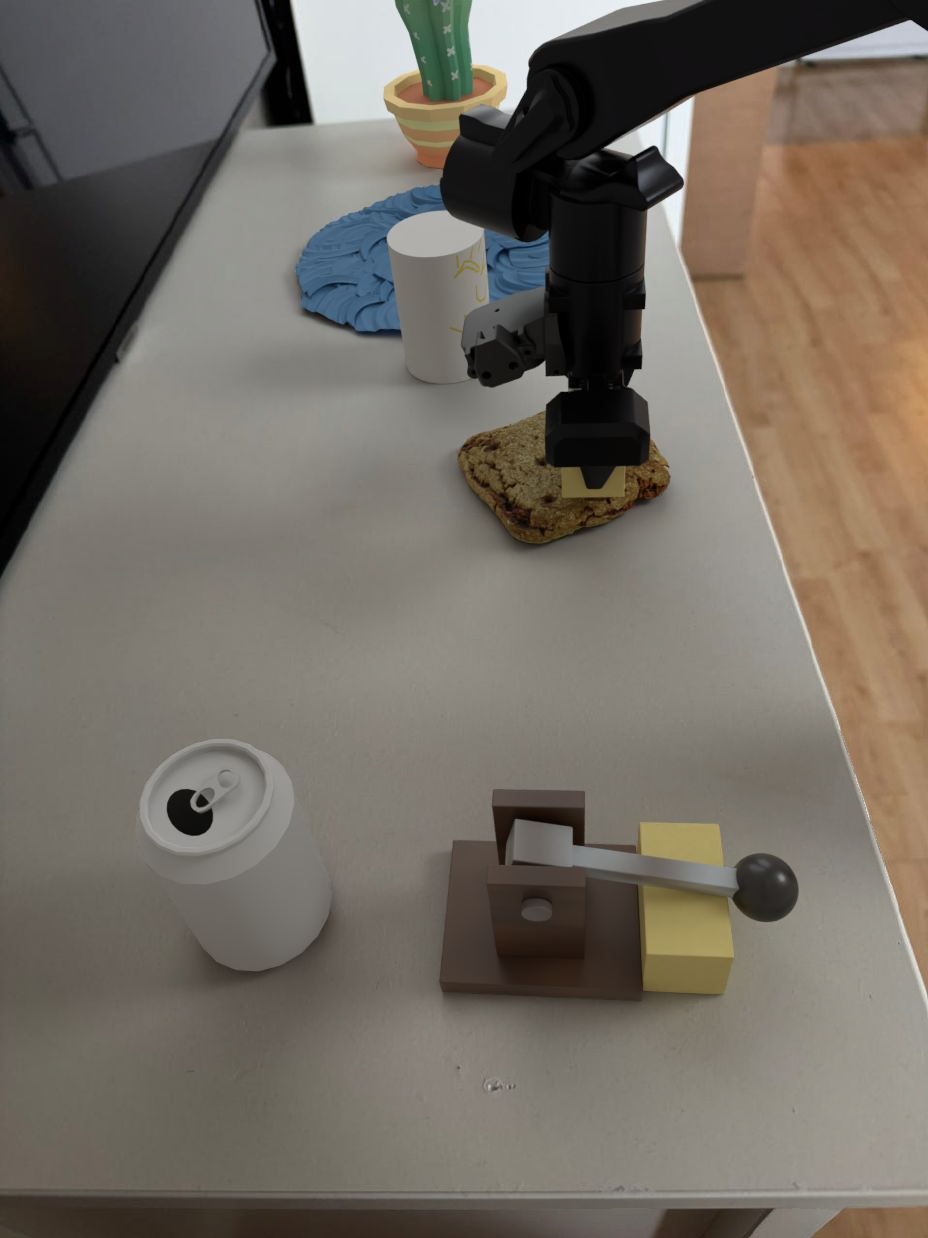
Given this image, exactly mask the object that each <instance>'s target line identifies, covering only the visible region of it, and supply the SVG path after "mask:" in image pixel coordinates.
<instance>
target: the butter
mask: <svg viewBox="0 0 928 1238" xmlns="http://www.w3.org/2000/svg"><path fill="white" fill-rule="evenodd" d="M636 854H639V855H646V856H653V857H660V858H667V859H674V860H681V861H688V862H695V863H702V864H709V865H716V866H723V867H725V864H724V855H723V846H722V836H721V829H720V825H719V824H718V823H691V822H688V823H687V822H684V823H683V822H647V821H645V822H643V821H640V822H639V824H638V834H637V846H636ZM638 896H639V917H640V939H641V960H642V981H643V992H655V993H656V992H657V993H679V994H680V993H682V994H698V995H699V994H701V995H702V994H703V995H720V996H721V995H724V994H725V991H726V987H727V983H728V980H729V977H730V975H731V974H730V973H731V970H732V967H733V963H734V960H735V950H734V943H733V935H732V934H733V932H732V925H731V917H730V916H731V915H730V906H729V900H728V899H729V897H722V896H715V895H708V894H701V893H694V892H687V891H680V890H673V889H666V888H659V887H652V886H645V885H638Z"/></svg>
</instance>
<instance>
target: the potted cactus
mask: <svg viewBox="0 0 928 1238" xmlns="http://www.w3.org/2000/svg"><path fill="white" fill-rule="evenodd" d="M394 4H395V8H396V11H397V13H398V14H399V16H400V18H401V20H402V22H403V24H404V26H405V28H406V31H407V33H408V34H409V35H408V36H409V39H410V42H411V47H412V50H413V54H414V57H415V60H416V64H417V68H418V69H416V70H413V71H410V72H406V73H403V74H400V75H398V76H397V77H395V78H394V79H392V80H391V81H390V82H389V83H387V84H385V85H384V86H383V96H382V99H383V102H384V105H385V107H386V110H387V112H389V113H391V114H392V115H393V116H394V117H395V121H396V122H397V124H398V127H399V128H400V131H401V133H402V136H404V138H405V139H406V140H407V141H408V143H409V144H411V146H412V147H413V148H414V149H415V150H416V162H418V163H420V164H421V165H423V166H425V167H426V168H432V169H433V168H434V169H442V170H443V168H444V164H445V160H446V157H447V154H448V152H449V150H450V148H451V146H452V144H453V143H454V141H455V140H456V138H457V137H458V136H459V135H460V128H459V115H460V114H461V113H464V112H466V111H468V110H470V109H472V108H474V107H476V106H478V105H480V104H484V105H488V106H492V107H495V108H497V109H498V110H500V105H501V102H503V101H504V100H505V99H506V97H507V92H508V86H509V85H508V80H507V75H506V73H505V72H503V71H501V70H499V69H497V68H494V67H492V66H490V65H485V64H474V63H473V59H472V50H471V41H470V39H471V38H470V31H469V22H470V17H471V11H472V6H473V5H472V4H473V0H394Z"/></svg>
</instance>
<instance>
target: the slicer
mask: <svg viewBox="0 0 928 1238" xmlns="http://www.w3.org/2000/svg"><path fill="white" fill-rule="evenodd" d="M491 798H492V799H491V811H492V818H493V819H492V820H493V827H494V835H495V840H470V839H469V840H467V839H466V840H465V839H453V841H452V848H451V856H450V857H451V858H450V868H449V878H448V889H447V898H446V909H445V918H444V928H443V929H444V931H443V940H442V941H443V942H442V949H441V960H440V971H439V980H438V982H439V986H440V990H441V992H442V993H463V994H484V995H502V996H503V995H505V996H523V997H524V996H529V997H549V998H568V999H569V998H570V999H592V1000H610V1001H611V1000H612V1001H613V1000H614V1001H634V1002H640V1001H641V1002H642V1001H643V995H644V991H643V981H642V960H641V939H640V917H639V896H638V884H631V883H624V882H617V881H609V880H602V879H595V878H588V877H586V869H585V867H555V866H522V865H505V858H506V843H507V840H508V837H509V834H510V832H511V829H512V826H513V823H514V820H515V819H521V820H528V821H535V822H541V823H548V824H555V825H562V826H569V827H572V828H573V845H577V846H584V847H591V848H598V849H604V850H611V851H618V852H625V853H632V854H637V846H636V844H615V843H614V844H612V843H611V844H609V843H585V841H586V791H584V790H559V789H557V790H555V789H551V790H550V789H516V788H515V789H513V788H508V789H507V788H493V789H492V797H491Z"/></svg>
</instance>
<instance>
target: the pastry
mask: <svg viewBox="0 0 928 1238" xmlns="http://www.w3.org/2000/svg"><path fill="white" fill-rule="evenodd" d="M545 416H546V409H545V410H543V411H540V412H537V413H536V414H533V415H532V416H528V417H526V418H525V419H521V420H519V421H517V422H514V423H513V424H511V423H509V424H508V425H505V426H501V427H498V428H494V429H491V430H487V431H483V432H480V433H477V434H475V435H472V436H471V437H468V438H467V439H466V441H465V442H464V443H463V444H462V446H461V447H460V448H459V450H458V451H457V464H458V466H459V468H460V470H461V471H462V472H463V474H464V478H465V479H466V482H467V484H468V485H469V487H470V488H471V489H472V490H473V491H474V493H475V494H476V495H477V496H478V498H479V499H481V501H483V502H484V503H485V504H486V505H488V507H489V508H490V509H491V511H492V512H493V513H494V514H495V516H496V517H498V518H499V519H500V521H501V522H502V524H503V525H504V527H505V529H506V530H507V531H508V532H509V534H510V536H512V537H513V538H514V539H516V540H517V541H519V542H523V543H528V544H532V545H542V544H546V543H550V542H551V541H554V542H555V541H557V540H558V539H561V538H563V537H564V536H569V535H573V534H574V531H577V530H580V529H582V528H592V527H596V526H601V525H605V524H607V523H609V522H611V521H613V520H614V519H615V518H617V517H619V516H621V515H624V514H626V513H627V512H629V511H632V509H633V508H635V507H636V506H635V505H636V504H635V501H636V500H637V499H641V498H645V499H646V500H651V499H656V498H659V497H661V496H662V495H663V493H665V491H666V490H667V489H668V487H669V484H670V483H671V477H672V476H671V475H670V472H669V470H668V469H670V464H669V463H668V460H667V459H666V458H665V456H663V455H662V454H661V452H660V450H659V448H658V446H657V445H656V443H655V441H654V440H653V439H652V438H651V437H650V450H649V460H648V461H647V462H645V463H644V464H642V465H641V466H626V468H625V490H624V497H580V498H562V473H561V468H554V467H553V466H551V465H549V464H548V463H546V462H545ZM667 468H668V469H667Z"/></svg>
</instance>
